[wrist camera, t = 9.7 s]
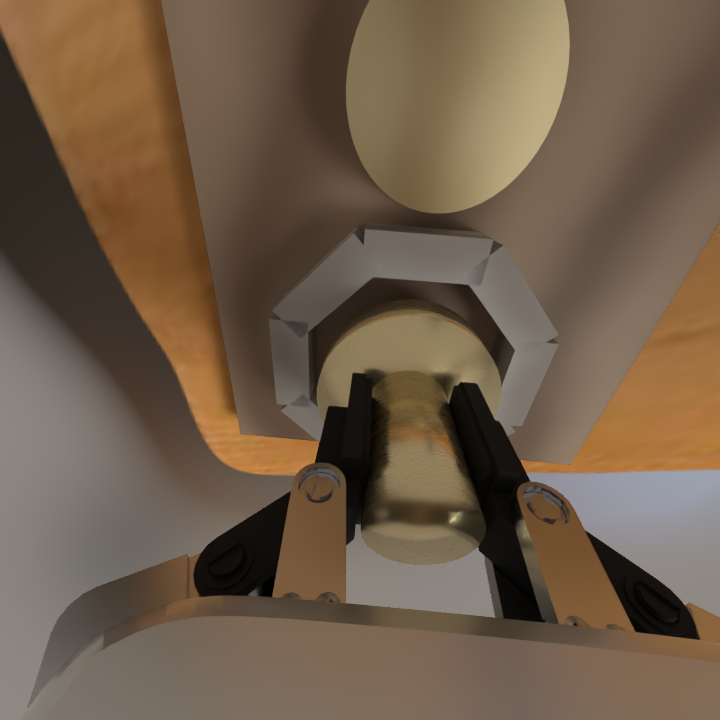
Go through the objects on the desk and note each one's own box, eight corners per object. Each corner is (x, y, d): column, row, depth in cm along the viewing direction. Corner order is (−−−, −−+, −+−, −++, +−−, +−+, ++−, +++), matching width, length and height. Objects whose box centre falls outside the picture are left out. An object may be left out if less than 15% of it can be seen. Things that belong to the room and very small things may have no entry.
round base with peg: (504, 303, 11) (643, 436, 5) (466, 437, 15) (524, 608, 9) (322, 294, 12) (261, 413, 6) (326, 428, 15) (292, 589, 9)
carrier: (792, 25, 10) (977, -47, 7) (557, 445, 19) (590, 494, 16) (182, -15, 10) (96, -100, 7) (249, 417, 20) (226, 459, 17)
